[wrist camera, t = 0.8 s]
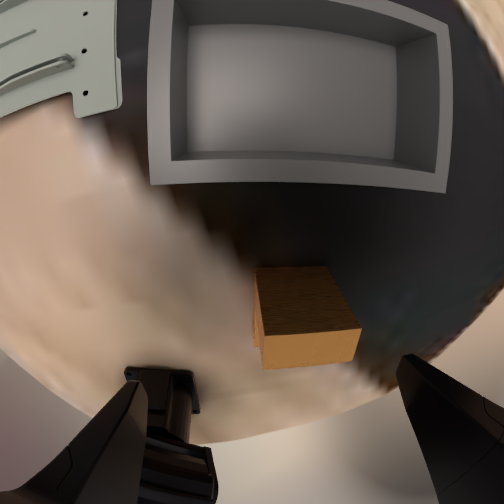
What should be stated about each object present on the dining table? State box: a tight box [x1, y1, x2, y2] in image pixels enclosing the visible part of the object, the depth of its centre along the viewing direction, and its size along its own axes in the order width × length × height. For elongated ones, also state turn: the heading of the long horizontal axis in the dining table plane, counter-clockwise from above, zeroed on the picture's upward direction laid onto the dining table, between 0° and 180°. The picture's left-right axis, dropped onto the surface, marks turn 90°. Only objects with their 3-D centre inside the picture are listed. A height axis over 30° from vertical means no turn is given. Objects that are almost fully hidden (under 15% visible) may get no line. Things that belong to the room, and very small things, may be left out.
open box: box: [147, 0, 453, 193], centre depth 13 cm, size 10×15×5 cm, turn 89°
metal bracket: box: [0, 0, 122, 118], centre depth 11 cm, size 14×6×15 cm
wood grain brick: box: [253, 266, 362, 369], centre depth 18 cm, size 6×5×7 cm
